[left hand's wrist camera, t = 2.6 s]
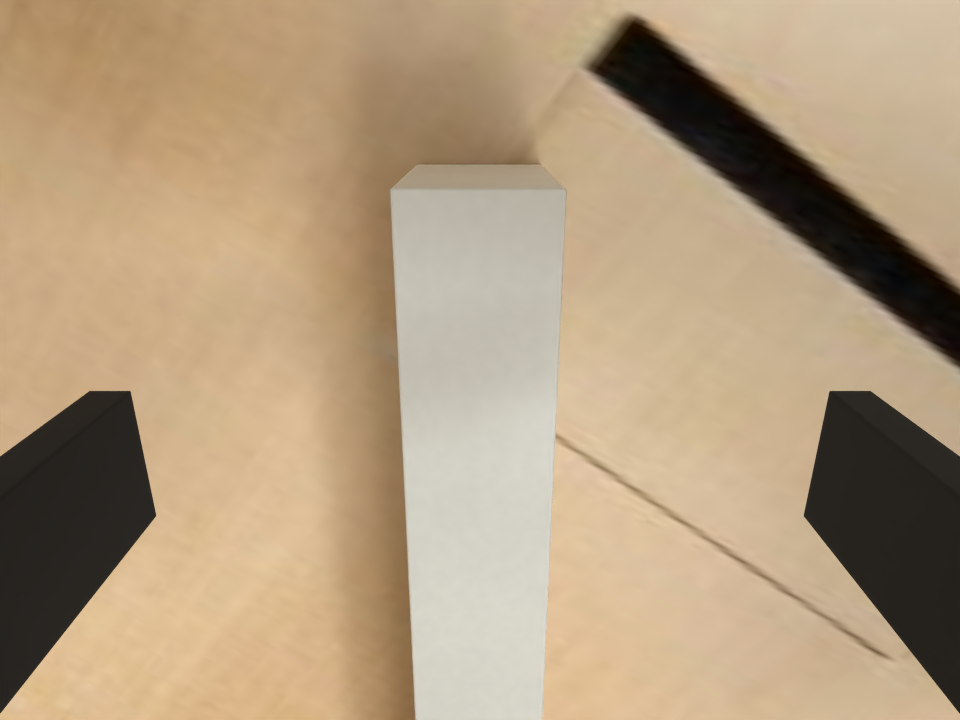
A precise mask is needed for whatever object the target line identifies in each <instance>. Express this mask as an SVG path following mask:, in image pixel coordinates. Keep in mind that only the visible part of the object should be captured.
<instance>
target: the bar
mask: <svg viewBox="0 0 960 720" xmlns="http://www.w3.org/2000/svg"><path fill="white" fill-rule="evenodd" d="M390 203H391V223H392V244H393V265H394V286H395V307H396V328H397V349H398V370H399V391H400V412H401V433H402V454H403V475H404V496H405V517H406V538H407V559H408V580H409V601H410V622H411V643H412V664H413V685H414V706H415V720H542V714H543V692H544V671H545V649H546V627H547V605H548V583H549V562H550V540H551V518H552V496H553V474H554V453H555V431H556V409H557V387H558V365H559V343H560V322H561V300H562V278H563V256H564V234H565V213H566V189H565V188H564V187H563V186H562V185H561V184H560V183H559V182H558V181H557V180H556V179H555V178H554V177H553V176H552V175H551V174H550V173H549V172H548V171H547V170H546V169H545V168H544V167H543V166H542V165H540V164H417V165H416V166H415V167H414V168H413V169H411V170H410V171H409V172H408V173H407V174H406V175H405V176H404V177H403V178H402V179H401V180H400V181H399V182H397V183H396V184H395V185H394V186H393V187H392V188H391V189H390Z"/></svg>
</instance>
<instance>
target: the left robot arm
mask: <svg viewBox="0 0 960 720" xmlns="http://www.w3.org/2000/svg"><path fill="white" fill-rule="evenodd" d="M155 517H156V512H155V508H154V503H153V498H152V493H151V488H150V483H149V479H148V474H147V469H146V464H145V459H144V454H143V450H142V445H141V440H140V435H139V430H138V426H137V421H136V416H135V411H134V406H133V401H132V397H131V392H130V391H89V392H88V393H86V394H85V395H84V396H82V397H81V398H80V399H78V400H77V401H75V402H74V403H73V404H71V405H70V406H69V407H67V408H66V409H65V410H63V411H62V412H60V413H59V414H58V415H56V416H55V417H54V418H52V419H51V420H50V421H48V422H47V423H45V424H44V425H43V426H41V427H40V428H39V429H37V430H36V431H34V432H33V433H32V434H30V435H29V436H28V437H26V438H25V439H24V440H22V441H21V442H19V443H18V444H17V445H15V446H14V447H13V448H11V449H10V450H8V451H7V452H6V453H4V454H3V455H2V456H0V713H1V712H2V711H3V709H4V708H5V707H6V706H7V704H8V703H9V702H10V700H11V699H12V698H13V697H14V695H15V694H16V693H17V692H18V690H19V689H20V688H21V687H22V685H23V684H24V683H25V681H26V680H27V679H28V678H29V676H30V675H31V674H32V673H33V671H34V670H35V669H36V668H37V666H38V665H39V664H40V662H41V661H42V660H43V659H44V657H45V656H46V655H47V654H48V652H49V651H50V650H51V649H52V647H53V646H54V645H55V643H56V642H57V641H58V640H59V638H60V637H61V636H62V635H63V633H64V632H65V631H66V630H67V628H68V627H69V626H70V624H71V623H72V622H73V621H74V619H75V618H76V617H77V616H78V614H79V613H80V612H81V610H82V609H83V608H84V607H85V605H86V604H87V603H88V602H89V600H90V599H91V598H92V597H93V595H94V594H95V593H96V591H97V590H98V589H99V588H100V586H101V585H102V584H103V583H104V581H105V580H106V579H107V578H108V576H109V575H110V574H111V572H112V571H113V570H114V569H115V567H116V566H117V565H118V564H119V562H120V561H121V560H122V559H123V557H124V556H125V555H126V553H127V552H128V551H129V550H130V548H131V547H132V546H133V545H134V543H135V542H136V541H137V540H138V538H139V537H140V536H141V534H142V533H143V532H144V531H145V529H146V528H147V527H148V526H149V524H150V523H151V522H152V521H153V519H154V518H155ZM804 517H805V518H806V519H807V521H808V522H809V523H810V524H811V526H812V527H813V528H814V529H815V531H816V532H817V533H818V534H819V536H820V537H821V538H822V540H823V541H824V542H825V543H826V545H827V546H828V547H829V548H830V550H831V551H832V552H833V553H834V555H835V556H836V557H837V559H838V560H839V561H840V562H841V564H842V565H843V566H844V567H845V569H846V570H847V571H848V572H849V574H850V575H851V576H852V578H853V579H854V580H855V581H856V583H857V584H858V585H859V586H860V588H861V589H862V590H863V591H864V593H865V594H866V595H867V597H868V598H869V599H870V600H871V602H872V603H873V604H874V605H875V607H876V608H877V609H878V611H879V612H880V613H881V614H882V616H883V617H884V618H885V619H886V621H887V622H888V623H889V624H890V626H891V627H892V628H893V630H894V631H895V632H896V633H897V635H898V636H899V637H900V638H901V640H902V641H903V642H904V643H905V645H906V646H907V647H908V649H909V650H910V651H911V652H912V654H913V655H914V656H915V657H916V659H917V660H918V661H919V662H920V664H921V665H922V666H923V668H924V669H925V670H926V671H927V673H928V674H929V675H930V676H931V678H932V679H933V680H934V681H935V683H936V684H937V685H938V687H939V688H940V689H941V690H942V692H943V693H944V694H945V695H946V697H947V698H948V699H949V700H950V702H951V703H952V704H953V706H954V707H955V708H956V709H957V711H958V712H959V713H960V456H958V455H957V454H956V453H954V452H953V451H952V450H950V449H949V448H947V447H946V446H945V445H943V444H942V443H941V442H939V441H938V440H936V439H935V438H934V437H932V436H931V435H930V434H928V433H927V432H926V431H924V430H923V429H921V428H920V427H919V426H917V425H916V424H915V423H913V422H912V421H910V420H909V419H908V418H906V417H905V416H904V415H902V414H901V413H900V412H898V411H897V410H895V409H894V408H893V407H891V406H890V405H889V404H887V403H886V402H885V401H883V400H882V399H880V398H879V397H878V396H876V395H875V394H874V393H872V392H871V391H830V392H829V397H828V401H827V406H826V411H825V416H824V421H823V426H822V430H821V435H820V440H819V445H818V450H817V454H816V459H815V464H814V469H813V474H812V479H811V483H810V488H809V493H808V498H807V503H806V508H805V512H804Z"/></svg>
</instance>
